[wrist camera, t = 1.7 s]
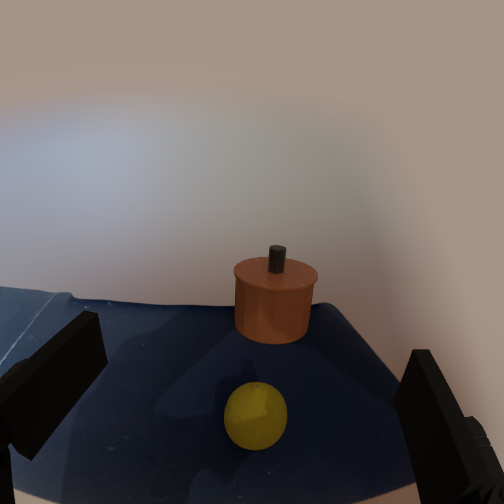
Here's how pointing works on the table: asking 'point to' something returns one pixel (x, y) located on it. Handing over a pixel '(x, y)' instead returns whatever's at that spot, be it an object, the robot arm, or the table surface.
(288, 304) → the pot
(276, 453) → the table surface
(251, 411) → the lemon
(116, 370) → the table surface
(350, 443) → the table surface
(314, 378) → the table surface
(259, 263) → the pot lid
